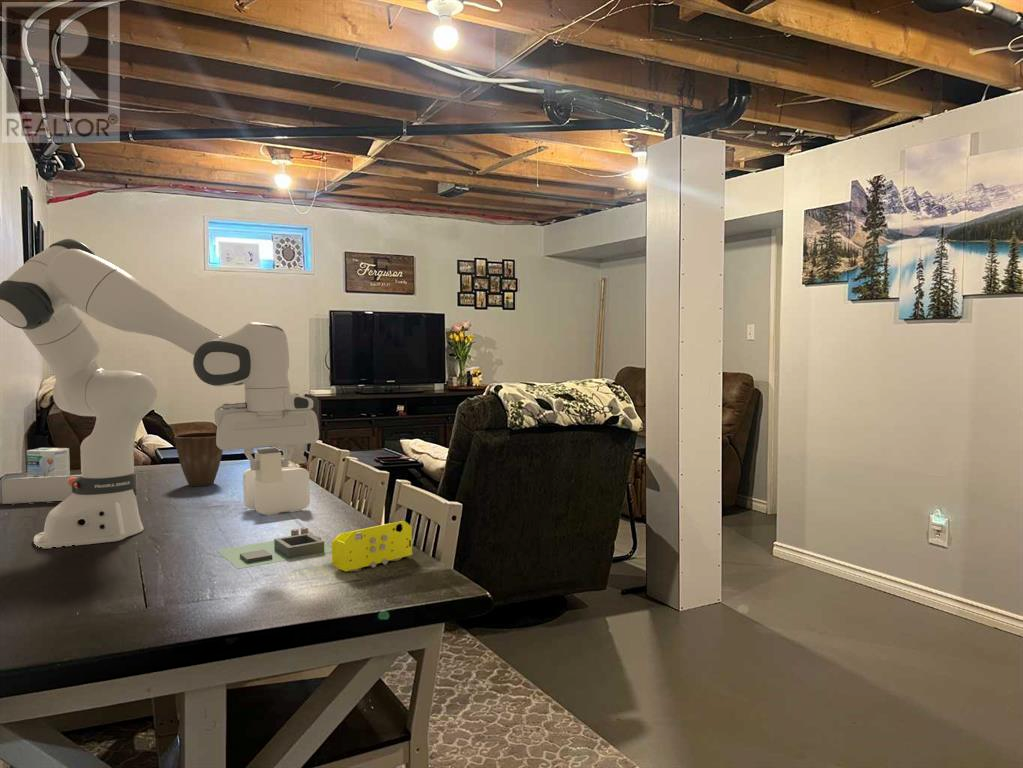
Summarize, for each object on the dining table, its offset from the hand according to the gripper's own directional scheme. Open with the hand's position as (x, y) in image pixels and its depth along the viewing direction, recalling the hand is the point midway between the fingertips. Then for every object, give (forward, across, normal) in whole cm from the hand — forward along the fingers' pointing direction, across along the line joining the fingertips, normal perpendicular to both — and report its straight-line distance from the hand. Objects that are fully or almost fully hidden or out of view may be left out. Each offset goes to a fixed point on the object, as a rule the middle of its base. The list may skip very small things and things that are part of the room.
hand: (269, 468), depth 152 cm
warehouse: (+19, -32, +100) cm, 107 cm away
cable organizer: (+20, +14, +46) cm, 52 cm away
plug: (+3, 0, 0) cm, 3 cm away
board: (+19, +1, +2) cm, 20 cm away
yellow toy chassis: (+20, +17, -14) cm, 29 cm away
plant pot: (+19, +5, +98) cm, 100 cm away
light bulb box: (+19, -36, +133) cm, 139 cm away
